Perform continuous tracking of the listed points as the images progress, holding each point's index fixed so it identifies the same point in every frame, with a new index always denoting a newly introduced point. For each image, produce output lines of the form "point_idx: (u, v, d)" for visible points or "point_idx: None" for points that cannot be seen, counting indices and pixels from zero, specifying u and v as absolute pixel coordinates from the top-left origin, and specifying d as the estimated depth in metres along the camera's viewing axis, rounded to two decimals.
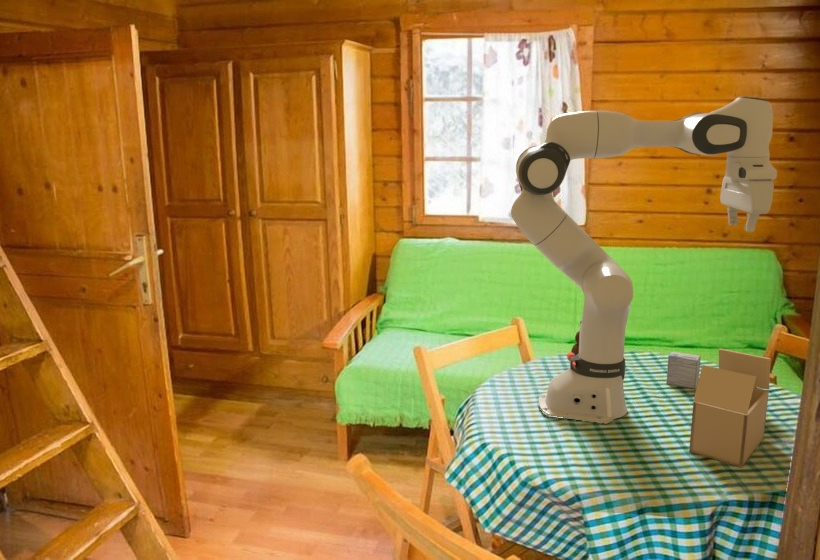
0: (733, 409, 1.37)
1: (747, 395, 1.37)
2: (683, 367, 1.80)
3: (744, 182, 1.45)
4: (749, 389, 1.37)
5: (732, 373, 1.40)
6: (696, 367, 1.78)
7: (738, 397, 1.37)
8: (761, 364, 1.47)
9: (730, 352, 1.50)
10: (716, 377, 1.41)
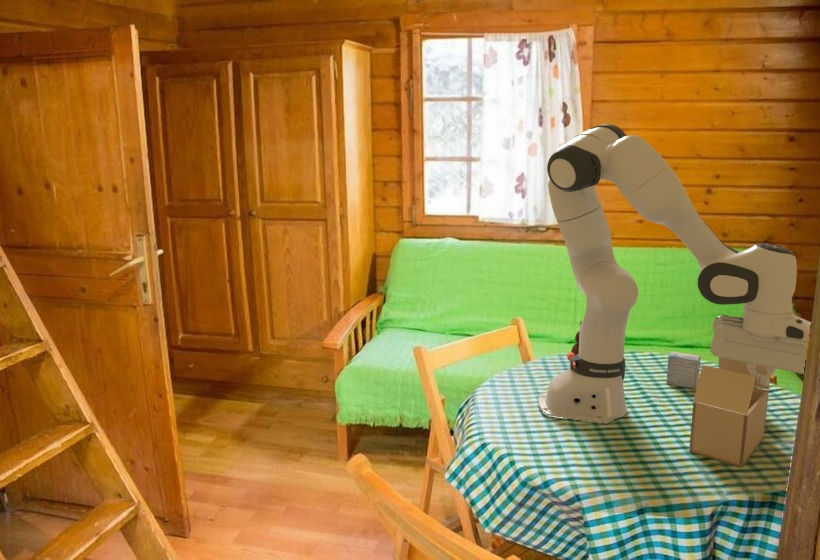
0: (733, 409, 1.37)
1: (747, 395, 1.37)
2: (683, 367, 1.80)
3: (795, 342, 1.29)
4: (749, 389, 1.37)
5: (732, 373, 1.40)
6: (696, 367, 1.78)
7: (738, 397, 1.37)
8: None
9: None
10: (716, 377, 1.41)
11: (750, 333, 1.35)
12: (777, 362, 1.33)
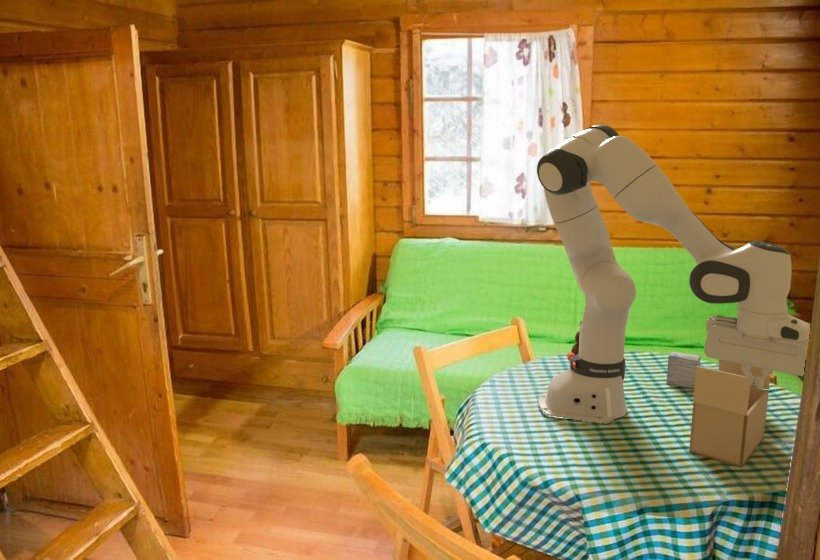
0: (732, 410, 1.37)
1: (744, 397, 1.35)
2: (683, 367, 1.80)
3: (790, 343, 1.26)
4: (745, 391, 1.35)
5: (727, 375, 1.37)
6: None
7: (736, 399, 1.36)
8: None
9: None
10: (711, 379, 1.39)
11: (744, 334, 1.32)
12: (772, 363, 1.29)
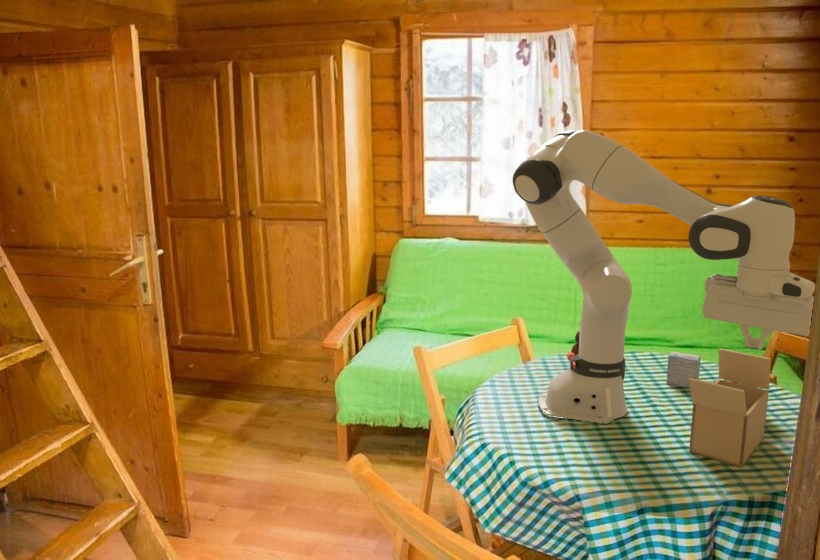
0: (732, 412, 1.37)
1: (741, 404, 1.34)
2: (683, 367, 1.80)
3: (792, 300, 1.21)
4: (740, 400, 1.33)
5: (720, 387, 1.34)
6: (696, 367, 1.78)
7: (733, 405, 1.35)
8: (761, 364, 1.47)
9: (730, 352, 1.50)
10: (706, 389, 1.37)
11: (744, 292, 1.27)
12: (772, 323, 1.25)
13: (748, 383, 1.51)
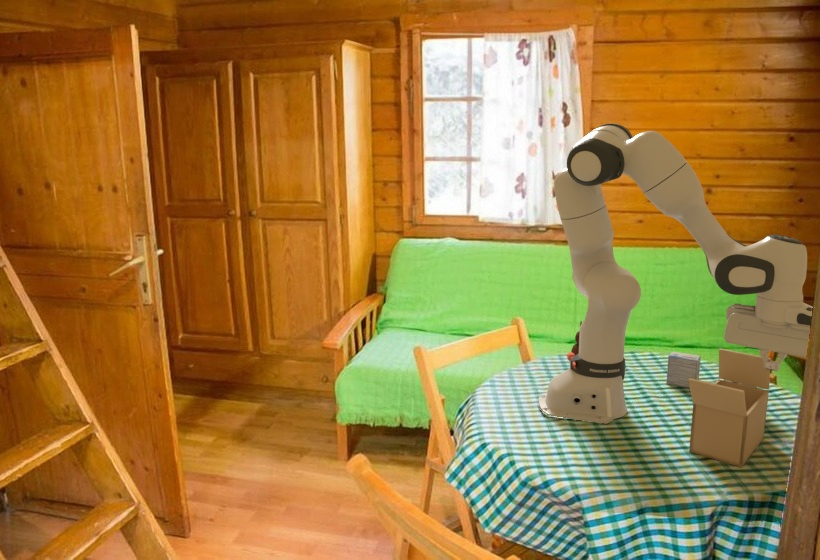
0: (732, 412, 1.37)
1: (741, 404, 1.34)
2: (683, 367, 1.80)
3: (806, 328, 1.36)
4: (740, 400, 1.33)
5: (720, 388, 1.34)
6: (696, 367, 1.78)
7: (733, 405, 1.35)
8: (761, 364, 1.47)
9: (730, 352, 1.50)
10: (706, 389, 1.37)
11: (762, 320, 1.42)
12: (788, 348, 1.39)
13: (748, 383, 1.51)
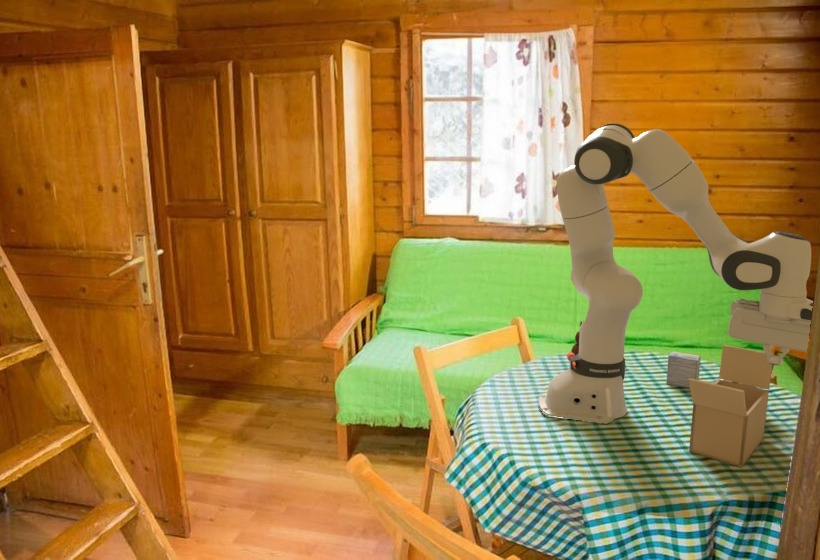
0: (732, 412, 1.37)
1: (741, 404, 1.34)
2: (683, 367, 1.80)
3: (809, 323, 1.38)
4: (740, 400, 1.33)
5: (720, 388, 1.34)
6: (696, 367, 1.78)
7: (733, 405, 1.35)
8: (764, 360, 1.48)
9: (734, 348, 1.52)
10: (706, 389, 1.37)
11: (766, 315, 1.44)
12: (791, 343, 1.42)
13: (748, 383, 1.51)
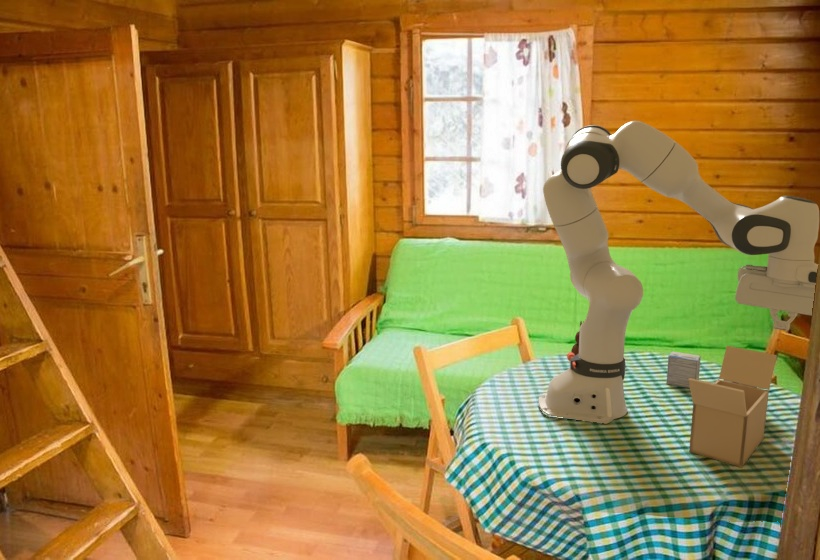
0: (732, 412, 1.37)
1: (741, 404, 1.34)
2: (683, 367, 1.80)
3: None
4: (740, 400, 1.33)
5: (720, 388, 1.34)
6: (696, 367, 1.78)
7: (733, 405, 1.35)
8: (766, 360, 1.50)
9: (737, 348, 1.55)
10: (706, 389, 1.37)
11: (774, 280, 1.44)
12: (799, 307, 1.42)
13: (749, 383, 1.51)
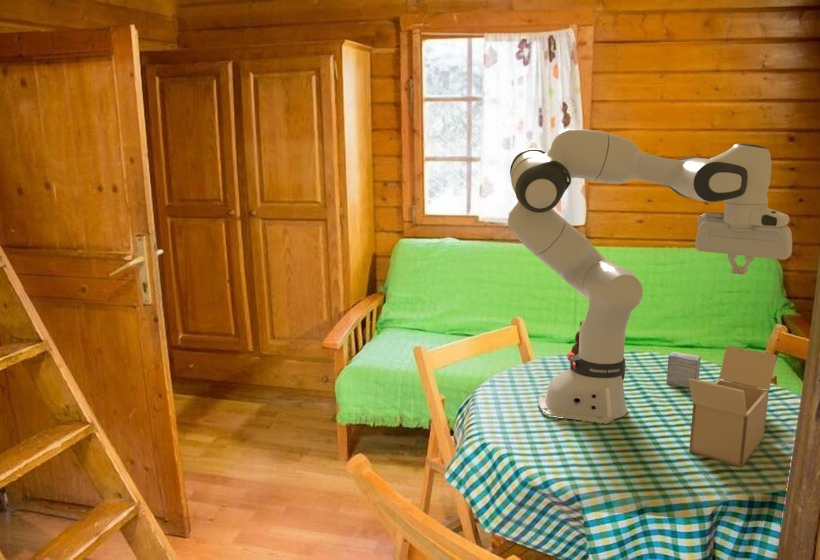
0: (732, 412, 1.37)
1: (741, 404, 1.34)
2: (683, 367, 1.80)
3: (770, 229, 1.44)
4: (740, 400, 1.33)
5: (720, 388, 1.34)
6: (696, 367, 1.78)
7: (733, 405, 1.35)
8: (766, 360, 1.50)
9: (737, 348, 1.55)
10: (706, 389, 1.37)
11: (730, 226, 1.50)
12: (754, 250, 1.48)
13: (749, 383, 1.51)
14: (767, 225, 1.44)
